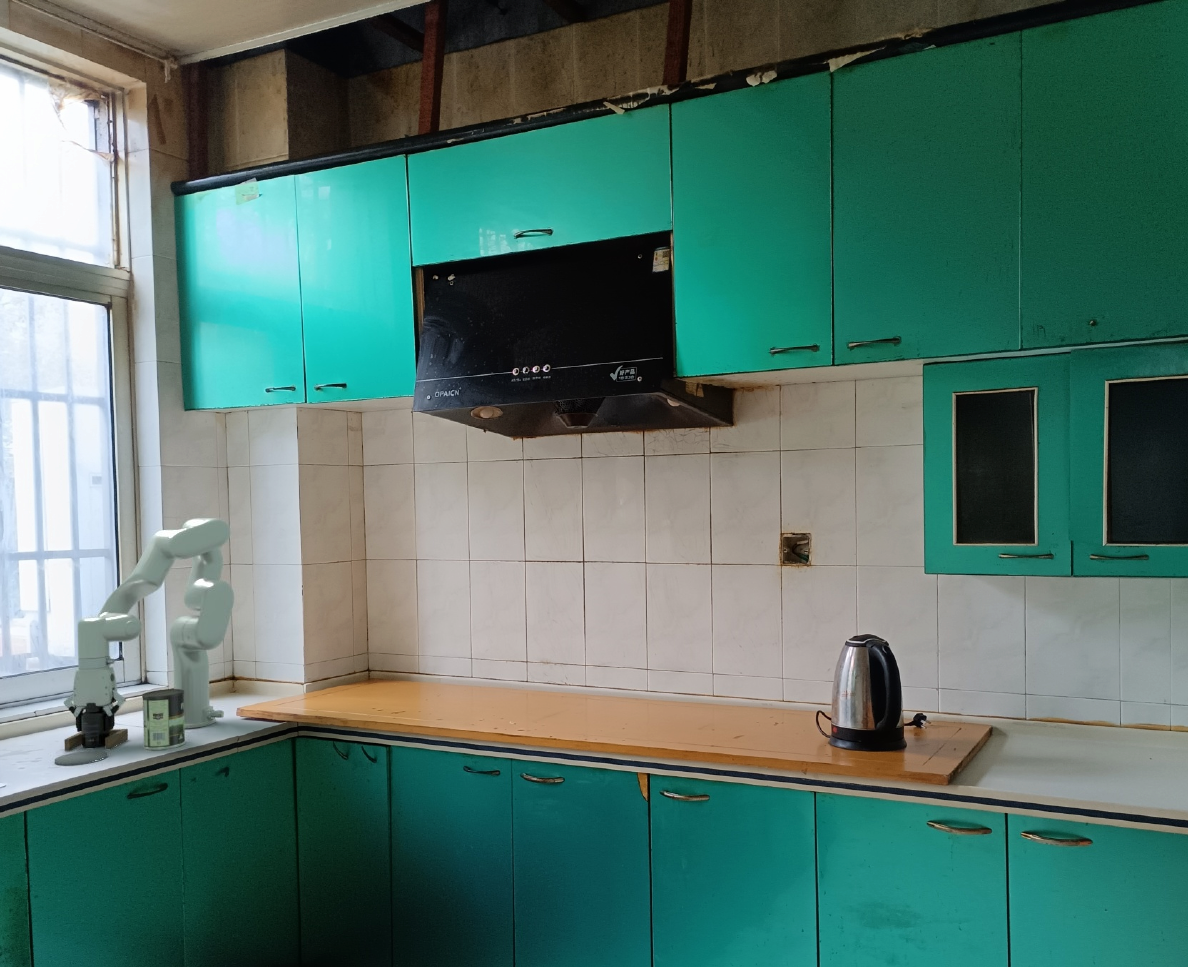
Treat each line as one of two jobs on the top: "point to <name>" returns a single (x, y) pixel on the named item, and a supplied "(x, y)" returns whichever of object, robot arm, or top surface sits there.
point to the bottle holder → (110, 742)
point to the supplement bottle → (93, 726)
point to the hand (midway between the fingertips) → (95, 729)
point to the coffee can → (163, 719)
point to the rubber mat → (80, 757)
